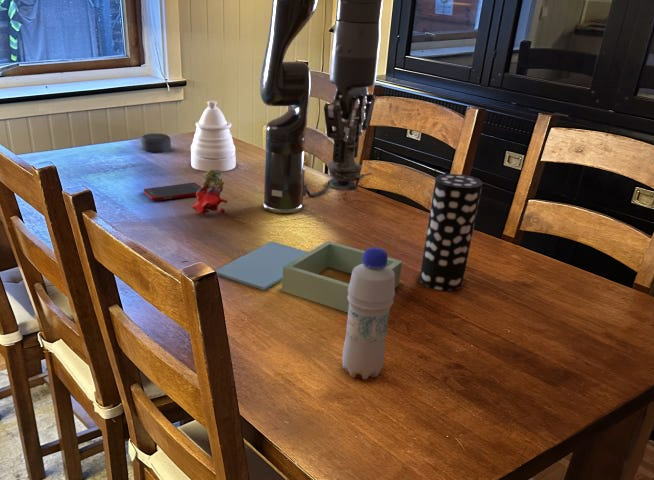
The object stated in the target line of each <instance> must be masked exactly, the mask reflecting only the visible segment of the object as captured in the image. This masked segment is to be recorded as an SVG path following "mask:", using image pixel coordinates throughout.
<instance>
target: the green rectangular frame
mask: <svg viewBox="0 0 654 480" xmlns="http://www.w3.org/2000/svg"><path fill="white" fill-rule="evenodd" d="M365 251H366V250H363V249H359V248H356V247H352V246H348V245H345V244H341V243H339V242H338V243H337V242H334V241H330V240H326V241H325V242H324V243H323V242H322V243H321V244H320V245H318V246H316V247H315V248H313V249H311V250H309V251H307V252H308V253H306V254H304V255H303V256H301V257H299V258H297V259H296V260H294V261H292V262H290V263H289V264H287V265H285V266H284V267H283V278H282V280H281V292H282V293H285V294H289V295H292V296H296V297H298V298H301V299H305V300H307V301H310V302H313V303H316V304H320V305H323V306H326V307H329V308H332V309H335V310H338V311H341V312H344V313H347V314H348V310H349V301H348V298H347V297H348V287H349V283H347V282H344V281H342V280H338V279H335V278H331V277H328V276H325V275H321V274H319V273H321V272H322V271H324V270H326V269H328V268H330V269H334V270H337V271H340V272H343V273H346V274H351V275H352V271H353V269H354V268H355V267H356V266H358V265H360V264H363V255H364V252H365ZM386 266H387V267H389V268H390V269H392V270H393V272H394V274H395V289H396V288H398V287H399V286H400V281H401V273H402V268H403V267H402V266H403V260H399V259H397V258H396V259H395V258H392V257H388V259H387V265H386Z"/></svg>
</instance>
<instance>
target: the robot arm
mask: <svg viewBox="0 0 654 480" xmlns="http://www.w3.org/2000/svg"><path fill="white" fill-rule="evenodd" d="M318 3H319V0H272V5H271V15H270V22H269V30H268V37H267V42H266V48H265V53H264V58H263V64H262V67H261V74H260V83H259V91H260V93H259V94H260V98H261V101H262V103H263V104H264V105H266V106H267V107H268V106H269V107H289V109H288V110H287V111H286V112H284V114H282V115H281V116H279V117H276V118H274V119H272V120H270V121H268V122H267V124H266V126H265V150H264V151H265V154H264V186H263V187H264V188H263V189H264V190H263V209H264V210H265V211H268V212H271V213H274V214H281V215H282V214H283V215H284V214H285V215H287V214H294V213H299V212H300V211H301V210H302V207H303V206H304V197H306V196H308V197H311V198H315V197H318V196H321V195H323V194H324V193H326V192H327V191H328V190H330V189H331V188H330V187H328V183H329V182H331V181H333V180H334V179H333V178H331V179H329V180H328V181H327V184H326V185H327V186H326V187H325V188H324V189H321V190H320V191H318V192H316V193H311V192H310V190H309V189H308V188H307V187H308V186H307V185H308V184H307V182H305V172H306V169H305V167H304V166H305V165H304V164H305V148H306V147H305V146H306V133H307V132H306V131H307V126H308V115H309V106H310V97H311V88H312V87H311V86H312V76H311V70H310V67H309V65H308V64H307V63H306V62H303V61H284V59H285V56H286V54H287V51H288V49H289V47H290V45H291V44H292V42H293V41H294V40H295V38H296V37H297V36H298V35H299V34H300V32H301V31H302V30H303V29H304V28H305V26H306V25H307V24H308V23H309V21H310V20H311V19H312V17H313V15H314V13H315V12H316V9H317V8H318ZM383 3H384V0H336V11H335V21H334V23H335V24H334V28H333V34H332V42H331V54H330V55H331V57H330V67H329V68H330V69H329V81H330V83H332V84H333V85H335V86H336V89H335V93H334V96H333V101H332V102H331V103H327V102H326V103H325V104H324V107H323V111H324V112H323V113H324V121H325V130H326V137H327V138H330V139H332V140H333V150H332V151H333V152H332V162H336V163H340V164H343V163H345V162H346V154H347V144H348V141H347V140H348V136H349V131H350V128H351V127H353V124H354V123H355V124H356V127H357V129H356V139H355V142H356V143H357V146H355V153H354V159H356V158H357V157H358V154H359V144H360V137H361V136H362V135H363V131H367V130H368V127H369V122H370V119H371V114H372V111H373V107H374V103H375V99H376V95H375V94H372V93H369V92H368V87H371V86H374V85H375V84H376V80H377V73H378V62H379V54H380V46H381V25H382V24H381V20H382V12H383ZM346 120H348V121H346ZM343 126H344V132H343ZM369 174H370V175H372V174H371V173H369ZM366 175H367V174H365V175H364V174H363V173H361V174H360V175H358V176H357V177H356V178H355V179H354V180H360V179H362V178H364V177H365V176H366ZM354 180H353V181H354Z"/></svg>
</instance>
